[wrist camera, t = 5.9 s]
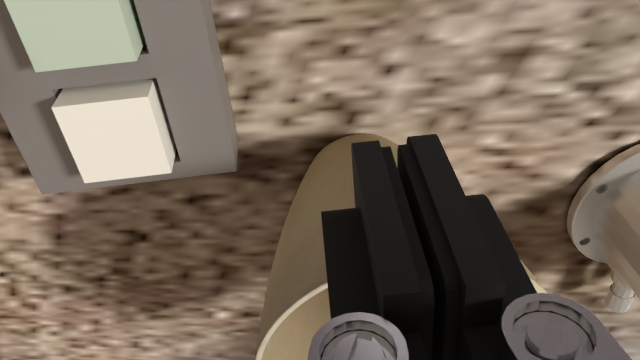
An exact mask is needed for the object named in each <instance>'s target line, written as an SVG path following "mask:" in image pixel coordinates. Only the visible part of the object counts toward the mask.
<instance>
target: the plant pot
mask: <svg viewBox="0 0 640 360" xmlns="http://www.w3.org/2000/svg"><path fill="white" fill-rule="evenodd" d="M375 140H379V142H380V145H381V147H387V146H390V147H391V150H392V153H393V156H394V159H395V162H396V166H397V148H398V145H397V144H395V143H393V142H392V141H390V140H388V139H386V138H383V137H381V136H377V135H372V134H356V135H350V136H346V137H343V138H340V139H338V140H336V141H334V142H332V143H330V144H328V145H327V146H326V147H324V148H323V149H322V150H321V151H320V152H319V153H318V154H317V156H316V157H315V158H314V160H313V161H312V163H311V165H310V166H309V168H308V170H307V172H306V174H305V176H304V178H303V180H302V182H301V184H300V186H299V188H298V190H297V193H296V195H295V197H294V200H293V202H292V204H291V207H290V209H289V212H288V215H287V217H286V220H285V223H284V227H283V230H282V233H281V236H280V239H279V242H278V246H277V249H276V253H275V256H274V260H273V264H272V268H271V273H270V277H269V281H268V286H267V291H266V297H265V302H264V308H263V314H262V319H261V325H260V331H259V337H258V343H257V350H256V357H255V360H308V352H309V348H310V345H311V341H312V338H313V337H314V335H315V334H316V333H317V331H318V330H319V329H320V327H321V326H323V325H324V324H325V323H327V322H328V321H329V320H331V316H330V305H329V294H328V283H327V273H326V262H325V251H324V240H323V229H322V219H321V211H330V210H339V209H348V208H355V198H354V183H353V168H352V153H351V143H356V142H366V141H375ZM519 259H520V258H519ZM520 261H521V260H520ZM521 263H522V265H523V266H524V268H525V270H526V272H527V274H528V276H529V278H530V280H531V282H532V284H533V286H534V288H535V290H536V291H537V293H547V292H546V291H545V290H544V288H543V287H542V286H541V285H540V283H539V282H538V281H537V280H536V278H535V277H534V276H533V275H532V273H531V272H530V271H529V270H528V268H527V267H526V266H525V265H524V263H523V262H522V261H521Z"/></svg>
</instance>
